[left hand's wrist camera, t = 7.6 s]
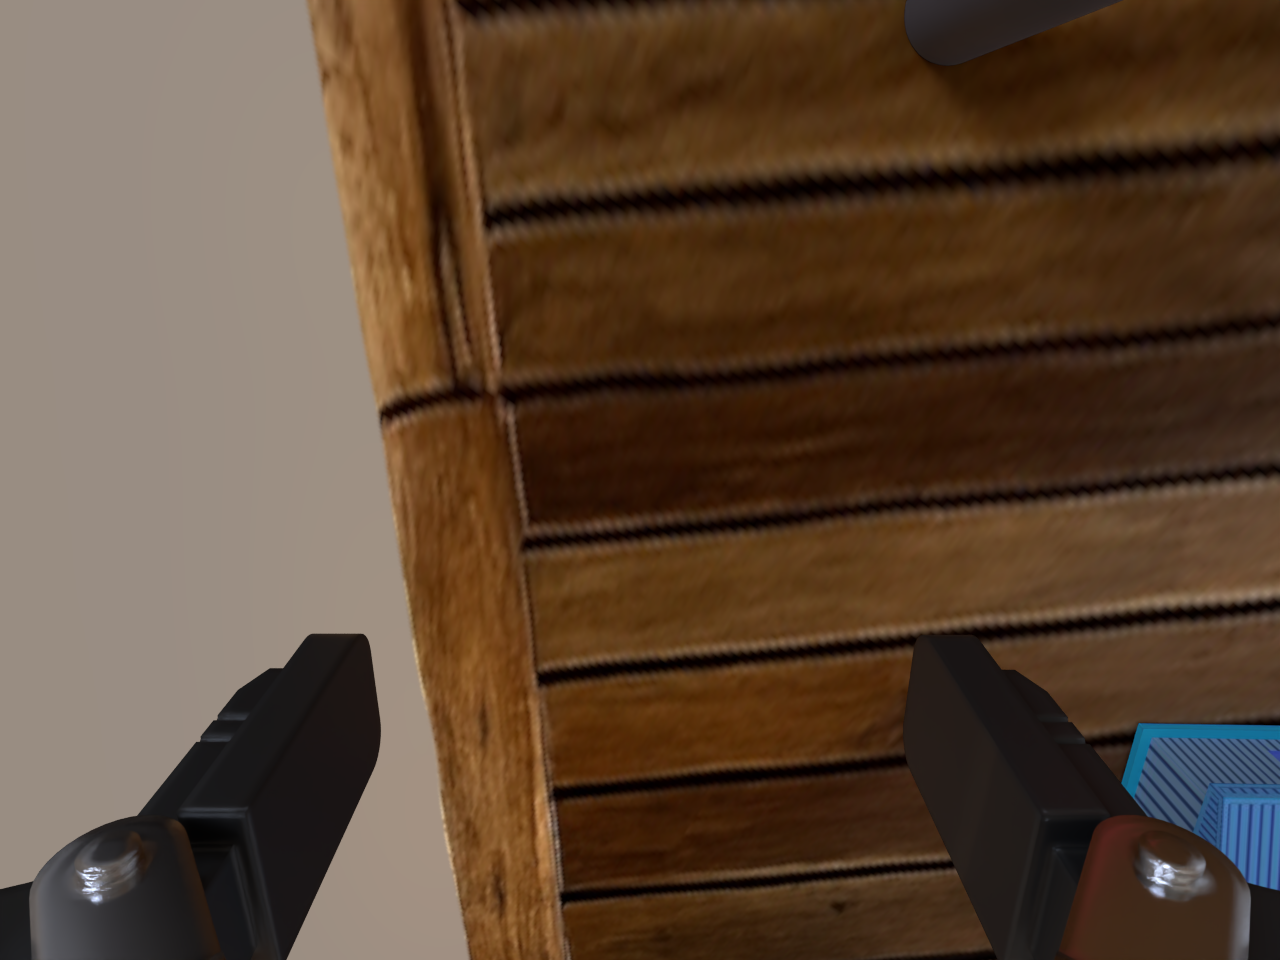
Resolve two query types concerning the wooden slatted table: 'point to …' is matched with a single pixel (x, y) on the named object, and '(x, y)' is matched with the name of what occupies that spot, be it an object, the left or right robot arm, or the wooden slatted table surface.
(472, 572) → the wooden slatted table surface
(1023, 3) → the dark gray cylinder
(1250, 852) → the model building
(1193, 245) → the wooden slatted table surface
